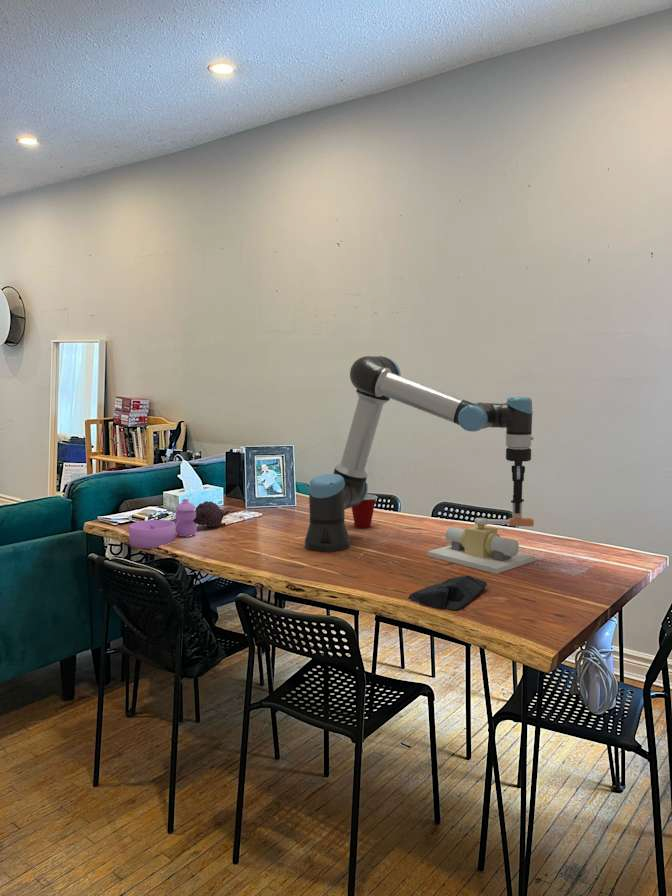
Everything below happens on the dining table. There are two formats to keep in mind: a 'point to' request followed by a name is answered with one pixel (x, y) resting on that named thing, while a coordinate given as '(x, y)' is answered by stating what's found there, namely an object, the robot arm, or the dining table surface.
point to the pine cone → (209, 514)
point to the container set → (163, 528)
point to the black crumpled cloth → (449, 593)
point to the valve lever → (506, 521)
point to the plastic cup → (364, 511)
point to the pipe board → (482, 562)
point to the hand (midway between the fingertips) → (516, 522)
